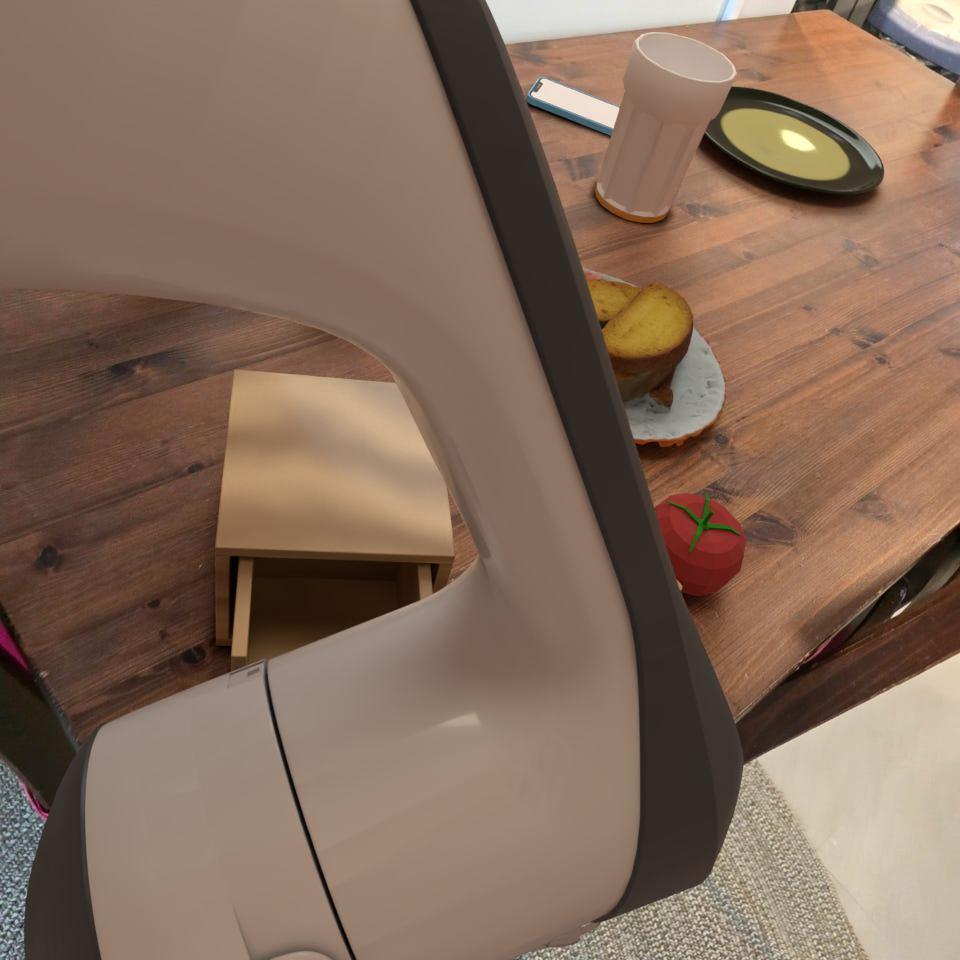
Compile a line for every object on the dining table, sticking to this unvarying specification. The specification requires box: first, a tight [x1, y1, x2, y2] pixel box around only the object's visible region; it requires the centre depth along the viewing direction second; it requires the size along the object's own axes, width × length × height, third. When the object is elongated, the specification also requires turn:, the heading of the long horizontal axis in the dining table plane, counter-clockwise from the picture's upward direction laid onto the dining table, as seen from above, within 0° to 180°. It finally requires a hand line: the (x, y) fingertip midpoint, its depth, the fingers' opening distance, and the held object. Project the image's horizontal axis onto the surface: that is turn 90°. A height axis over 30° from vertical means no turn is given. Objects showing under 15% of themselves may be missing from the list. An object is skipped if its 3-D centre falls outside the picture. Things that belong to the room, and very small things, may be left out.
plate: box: [704, 85, 885, 196], centre depth 124 cm, size 28×28×2 cm
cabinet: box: [214, 369, 456, 647], centre depth 59 cm, size 15×14×11 cm
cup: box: [594, 31, 738, 224], centre depth 100 cm, size 11×11×17 cm
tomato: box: [654, 492, 747, 597], centre depth 66 cm, size 8×8×8 cm
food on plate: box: [582, 266, 727, 448], centre depth 82 cm, size 25×25×7 cm
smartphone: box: [525, 76, 621, 137], centre depth 119 cm, size 8×1×15 cm
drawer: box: [230, 556, 433, 672], centre depth 52 cm, size 18×12×9 cm
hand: (330, 795), depth 46 cm, fingers closed on drawer, 6 cm apart
